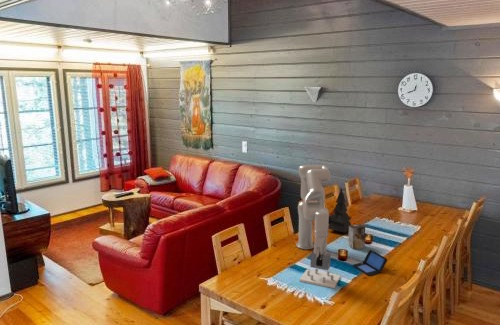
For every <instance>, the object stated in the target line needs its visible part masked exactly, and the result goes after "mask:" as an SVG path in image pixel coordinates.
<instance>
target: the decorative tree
mask: <svg viewBox="0 0 500 325" xmlns="http://www.w3.org/2000/svg"><path fill="white" fill-rule="evenodd" d="M335 203H336V205H335V207H334V208H333V210H332V212H333V213H332V214H333V216H332V217H331V219H330V220H329V221H331V223H330V224H328V230H333V231H336V232H337V233H347V232H349V225H352V223H351V220H352V218H351V217H350V216H349V214H348V209H347V206H346V198H345V195H344V192H343V188H342V187H340V190H339V194H338V195H337V198H336V201H335Z"/></svg>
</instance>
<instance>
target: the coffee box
mask: <svg viewBox="0 0 500 325" xmlns="http://www.w3.org/2000/svg"><path fill="white" fill-rule="evenodd" d="M347 241H348V242H347V243H348V244H347V245H348V247H349V248H351V249H352V250H358V249H364V248H365V247H366V226H364V225H363V224H361V223H360V224H351V225H349V230H348V240H347Z"/></svg>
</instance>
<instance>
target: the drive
mask: <svg viewBox="0 0 500 325" xmlns="http://www.w3.org/2000/svg"><path fill="white" fill-rule="evenodd" d="M316 254H317V253H316ZM316 254H314V249H313V250H312V251H311V252H310V268H313V269H319V270H323V271H325V270H326V271H329V269H330V268H331V259H332V258H331V256H332V254H331V252H326V251H325V252H324V253H323V254H322V266H317V265H316ZM319 254H321V253H319ZM319 256H320V255H319Z"/></svg>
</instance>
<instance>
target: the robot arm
mask: <svg viewBox="0 0 500 325" xmlns="http://www.w3.org/2000/svg"><path fill="white" fill-rule="evenodd" d="M298 175H299V178H300V198H301V200H302V201H300V202H299V203H298V204H297V213H298V242H296V244H295V245H296V247H297V248H298V249H300V250H312V249H313V250H314V254H316V253H317V254H316V265H317V266H322V254H323V253H324V252H326V250H327V246H328V245H327V243H328V240H327V239H328V236H329V229H328V226H329V224H328V221H329V216H330V211H329V209H328V208H327V207H325V199H326V192H325V188H324V187H323V185H322V184H323V183H330V181H331V172H330V170H329V169H328V167H327V166H326V165H323V164H302V165H299V166H298ZM313 221H314V222H313ZM313 234H314V235H313ZM313 236H314V239H313ZM313 241H314V242H313ZM319 253H321V254H319ZM319 255H320V256H319Z"/></svg>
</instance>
